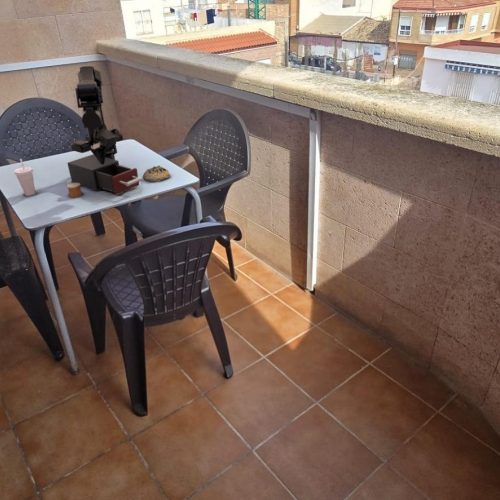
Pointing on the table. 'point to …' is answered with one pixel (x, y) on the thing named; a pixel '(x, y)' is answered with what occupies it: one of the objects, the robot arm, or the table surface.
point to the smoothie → (26, 179)
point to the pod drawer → (117, 178)
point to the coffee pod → (74, 189)
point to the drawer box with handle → (87, 170)
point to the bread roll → (156, 174)
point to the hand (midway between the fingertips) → (102, 164)
